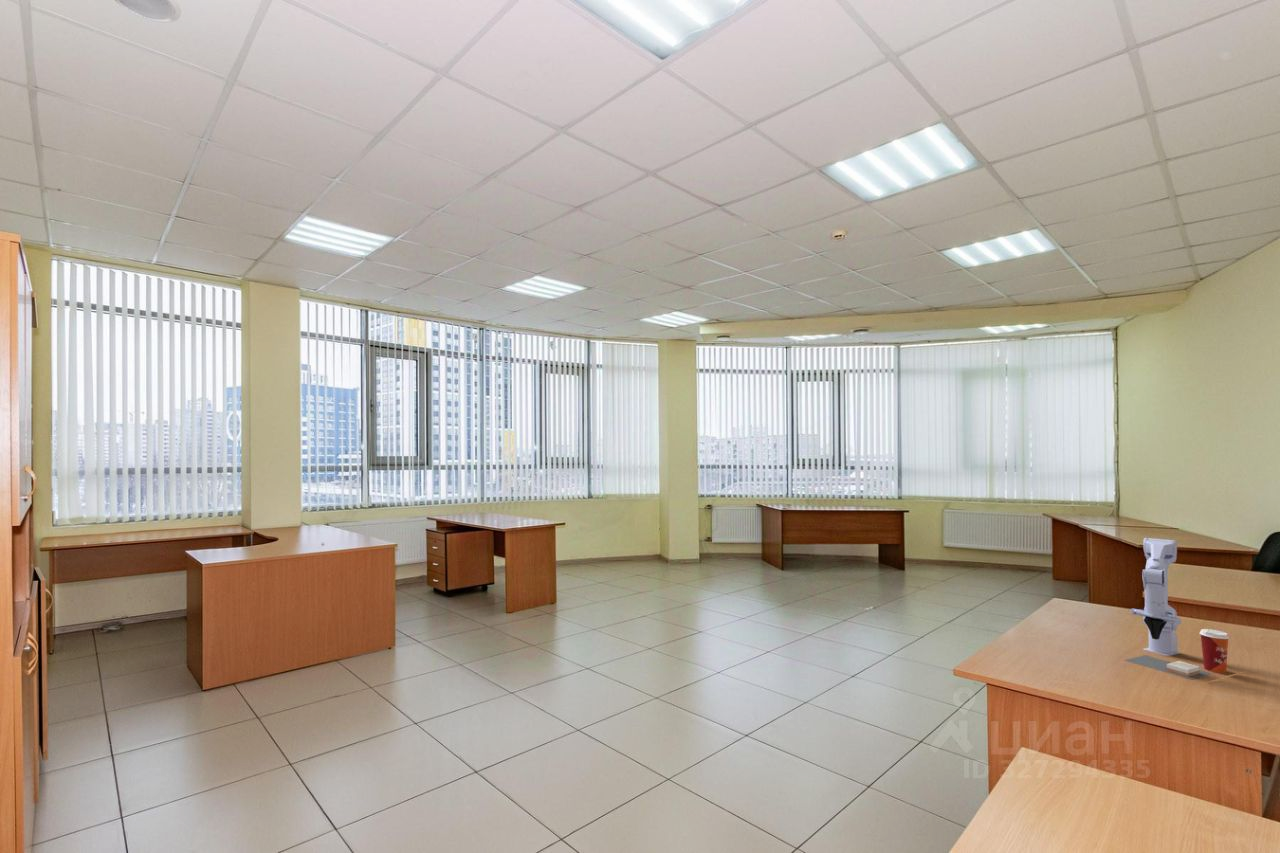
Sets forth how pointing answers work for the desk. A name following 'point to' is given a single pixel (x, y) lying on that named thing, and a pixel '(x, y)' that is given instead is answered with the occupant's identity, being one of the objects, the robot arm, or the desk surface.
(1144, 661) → the mat
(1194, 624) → the desk surface
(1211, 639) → the paper cup
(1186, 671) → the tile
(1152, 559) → the robot arm
